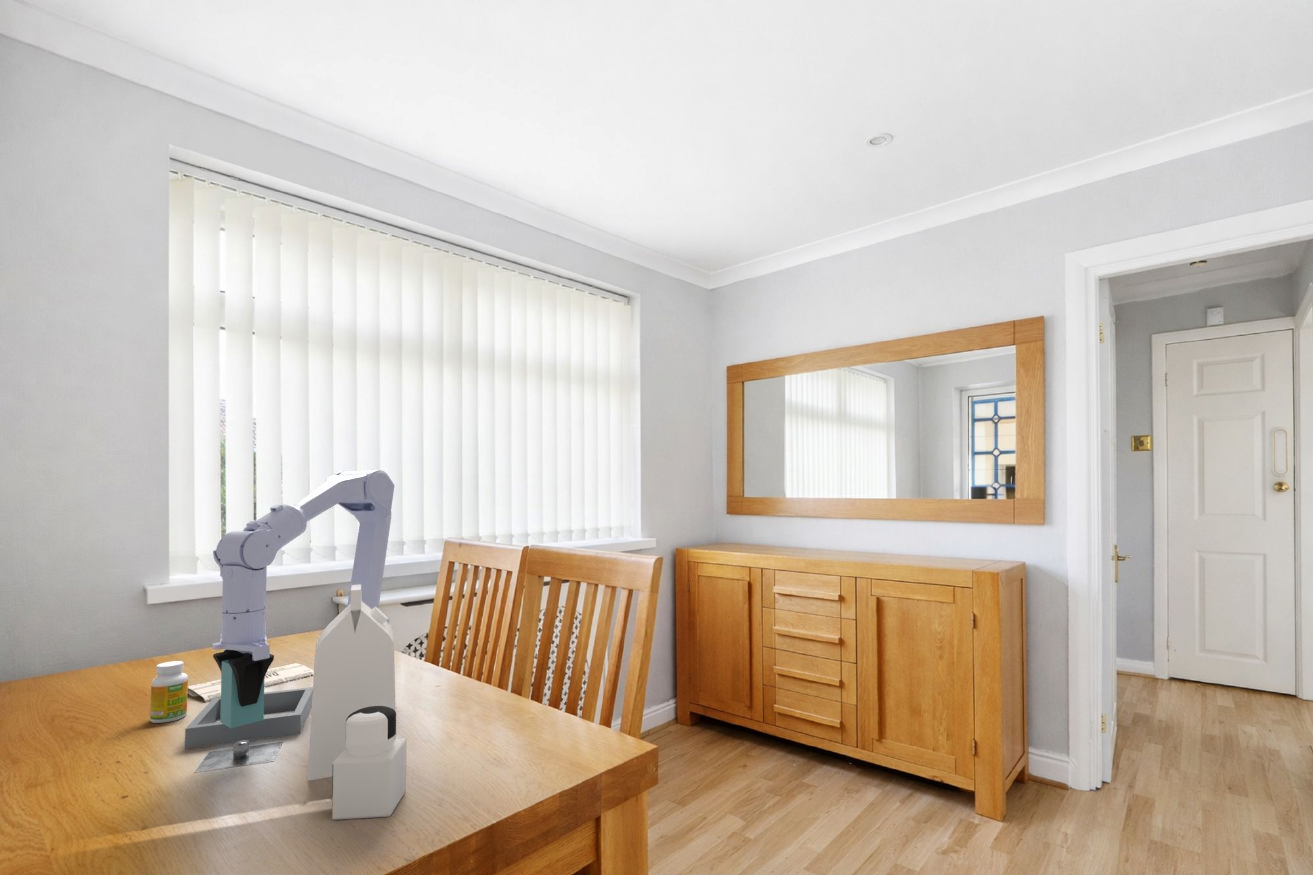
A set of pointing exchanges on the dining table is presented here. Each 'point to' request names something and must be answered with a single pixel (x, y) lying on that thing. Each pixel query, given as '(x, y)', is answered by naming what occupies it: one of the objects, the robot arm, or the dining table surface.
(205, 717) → the bin
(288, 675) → the newspaper
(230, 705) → the strut
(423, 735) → the dining table surface
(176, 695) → the supplement bottle
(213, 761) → the stud plate
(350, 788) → the medicine bottle
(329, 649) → the milk
